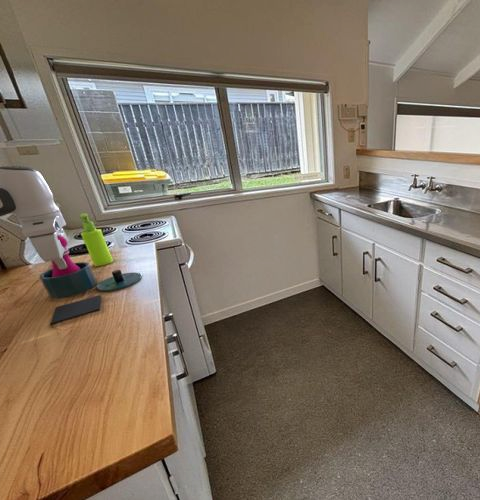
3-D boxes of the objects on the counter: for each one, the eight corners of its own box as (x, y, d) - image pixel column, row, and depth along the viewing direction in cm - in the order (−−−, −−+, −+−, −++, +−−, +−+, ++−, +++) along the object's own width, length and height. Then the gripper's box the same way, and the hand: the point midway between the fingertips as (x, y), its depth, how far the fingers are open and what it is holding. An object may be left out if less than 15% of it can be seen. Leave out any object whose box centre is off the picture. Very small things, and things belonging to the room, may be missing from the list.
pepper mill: (66, 286, 93) (39, 228, 86) (92, 281, 96) (68, 225, 88) (54, 296, 87) (23, 235, 80) (82, 292, 89) (55, 232, 82)
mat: (51, 326, 74) (50, 323, 73) (57, 310, 81) (55, 307, 81) (100, 311, 79) (99, 308, 79) (101, 297, 87) (100, 294, 86)
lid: (97, 297, 87) (91, 284, 85) (98, 283, 96) (93, 270, 94) (143, 284, 94) (139, 271, 92) (141, 272, 102) (136, 260, 101)
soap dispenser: (94, 268, 107) (72, 217, 100) (94, 262, 112) (73, 214, 105) (113, 263, 111) (93, 214, 103) (112, 258, 116) (93, 211, 108)
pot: (47, 304, 84) (36, 282, 81) (53, 289, 93) (43, 269, 90) (96, 291, 91) (87, 270, 88) (98, 278, 99) (89, 259, 96)
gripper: (35, 218, 89) (56, 258, 94) (20, 233, 74) (45, 279, 79) (62, 214, 92) (80, 252, 98) (53, 227, 77) (75, 272, 83)
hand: (64, 265), depth 88 cm, fingers closed on pepper mill, 5 cm apart
